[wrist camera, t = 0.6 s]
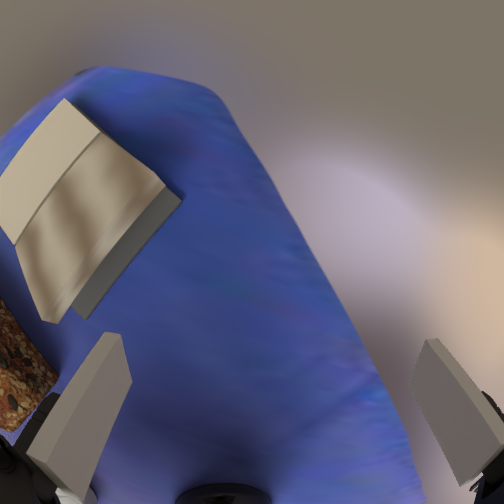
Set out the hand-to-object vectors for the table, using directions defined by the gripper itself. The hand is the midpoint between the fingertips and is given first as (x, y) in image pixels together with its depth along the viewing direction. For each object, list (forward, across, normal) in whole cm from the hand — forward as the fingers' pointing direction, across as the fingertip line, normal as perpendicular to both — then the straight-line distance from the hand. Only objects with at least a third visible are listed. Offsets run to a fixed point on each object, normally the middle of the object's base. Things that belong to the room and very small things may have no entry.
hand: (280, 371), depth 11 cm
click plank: (+15, +18, -2) cm, 23 cm away
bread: (+12, +33, +13) cm, 38 cm away
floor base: (+19, +22, -3) cm, 29 cm away
